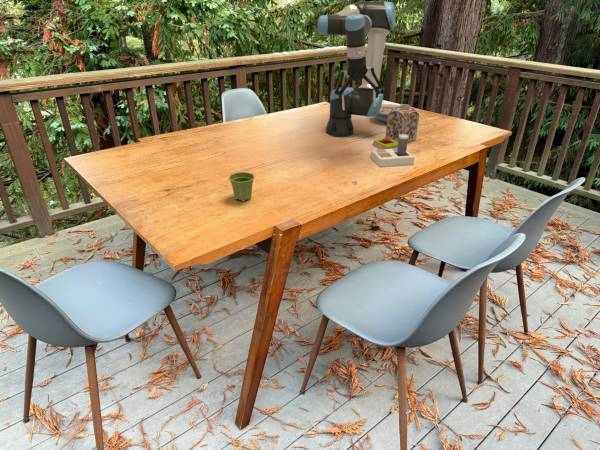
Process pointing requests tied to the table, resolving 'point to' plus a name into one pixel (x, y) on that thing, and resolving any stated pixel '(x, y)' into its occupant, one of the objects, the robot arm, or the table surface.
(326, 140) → the table surface
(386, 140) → the emergency button
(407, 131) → the decorative jar
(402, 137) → the capped grey bottle
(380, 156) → the socket block
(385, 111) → the ramen bowl
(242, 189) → the plant pot
